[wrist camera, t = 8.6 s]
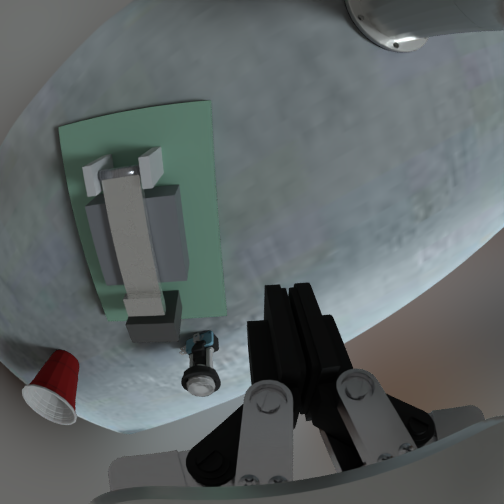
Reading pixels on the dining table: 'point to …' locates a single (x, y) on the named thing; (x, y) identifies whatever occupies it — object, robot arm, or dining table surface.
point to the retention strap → (133, 240)
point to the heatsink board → (179, 169)
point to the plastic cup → (55, 389)
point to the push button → (201, 365)
